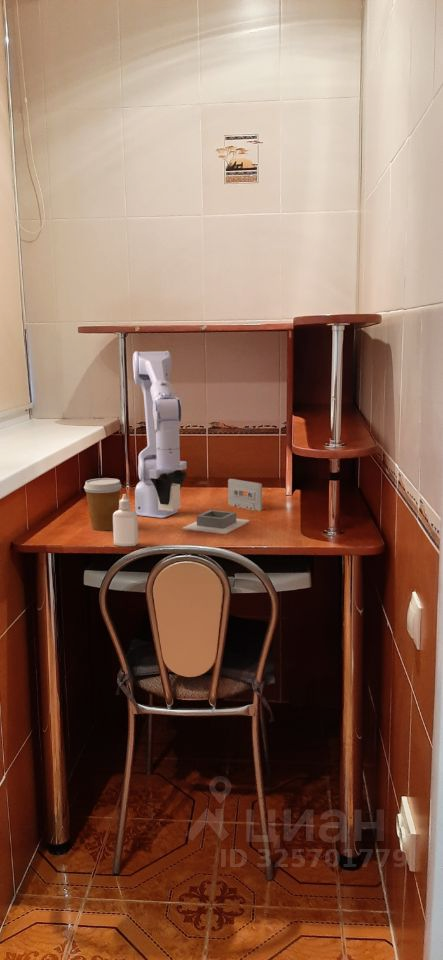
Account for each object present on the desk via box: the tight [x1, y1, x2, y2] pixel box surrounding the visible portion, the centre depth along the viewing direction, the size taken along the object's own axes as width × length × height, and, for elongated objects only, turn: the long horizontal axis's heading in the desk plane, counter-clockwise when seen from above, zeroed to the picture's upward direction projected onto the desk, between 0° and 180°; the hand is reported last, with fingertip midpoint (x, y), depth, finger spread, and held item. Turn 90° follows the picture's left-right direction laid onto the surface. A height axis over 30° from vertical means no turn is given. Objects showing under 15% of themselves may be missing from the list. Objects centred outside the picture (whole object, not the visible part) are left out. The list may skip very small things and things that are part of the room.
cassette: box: [227, 478, 263, 512], centre depth 216 cm, size 12×2×8 cm, turn 47°
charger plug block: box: [158, 483, 181, 511], centre depth 191 cm, size 4×4×7 cm
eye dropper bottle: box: [112, 493, 139, 547], centre depth 180 cm, size 4×6×12 cm
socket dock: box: [182, 509, 251, 535], centre depth 197 cm, size 12×14×3 cm
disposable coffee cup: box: [83, 477, 123, 531], centre depth 196 cm, size 10×10×12 cm
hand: (169, 502), depth 191 cm, fingers closed on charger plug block, 4 cm apart
